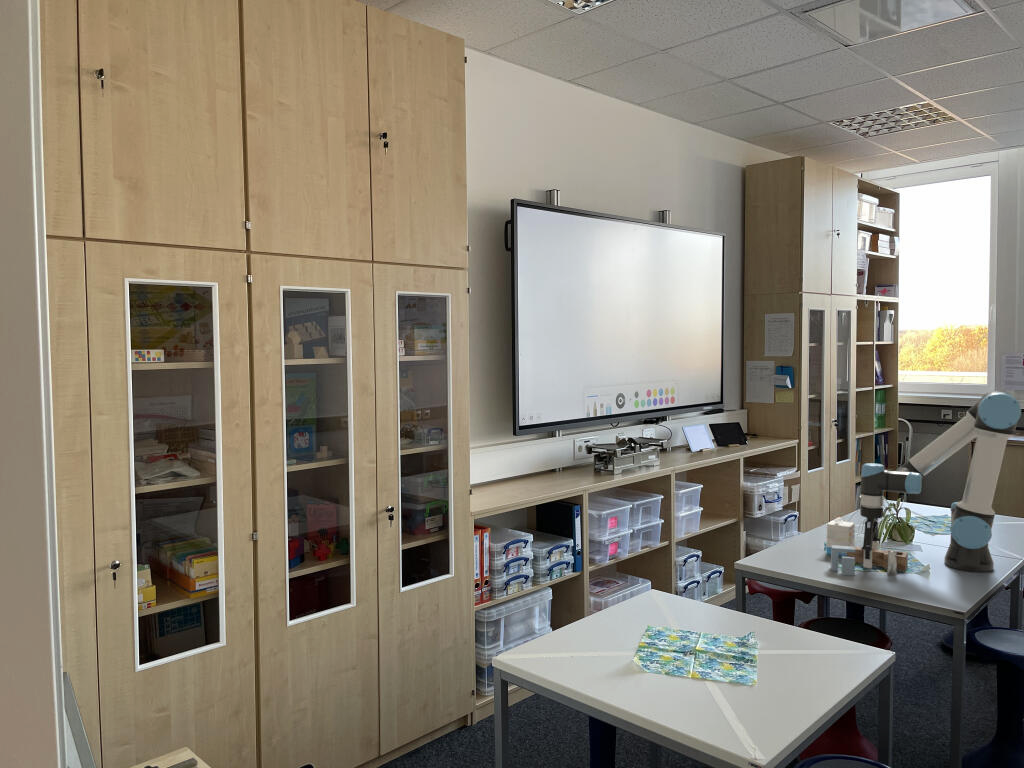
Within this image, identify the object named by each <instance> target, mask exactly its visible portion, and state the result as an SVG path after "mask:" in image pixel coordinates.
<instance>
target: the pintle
mask: <svg viewBox="0 0 1024 768" xmlns="http://www.w3.org/2000/svg"><path fill="white" fill-rule="evenodd" d="M888 550H889V551H888V568H887V574H888V575H889V576H897V571H898V570H897V552H896V551H897V550H893V549H892V550H893V551H892V550H891V549H888Z"/></svg>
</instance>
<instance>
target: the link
mask: <svg viewBox="0 0 1024 768" xmlns="http://www.w3.org/2000/svg"><path fill="white" fill-rule="evenodd" d="M851 547H854V546H851ZM862 547H863V546H855V547H854V548H855V552H847V557H854V558H855V562H858V563H859V564H863V560H864V550H862V549H861V548H862ZM889 550H890V549H885V550H883V549H878V550H877V549H872V566H877V567H883V569H888V551H889ZM892 551H894V550H893V549H892ZM895 551H896V552H897V570H896V571H904V572H906V570H907V568H908V562H909V561H908V559H909V557H908V556H909V555H908V554H909V553H908V551H901V550H900V551H899V550H895ZM858 563H857V564H858Z"/></svg>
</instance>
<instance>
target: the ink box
mask: <svg viewBox="0 0 1024 768" xmlns="http://www.w3.org/2000/svg"><path fill="white" fill-rule="evenodd" d="M855 524H856V523H855V522H851V521H844V520H843V518H842V517H840V516H838V517H836V518H834V519H832V520H831V521H829V522H828V523H826V554H827V555H831V545H837V546H854V547H856V546H855V545H856V543H855V542H856V541H855V539H856V538H855V531H856V529H855V528H856V525H855ZM838 556H841V557H842V556H847V552H842V551H838Z"/></svg>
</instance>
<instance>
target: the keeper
mask: <svg viewBox="0 0 1024 768" xmlns="http://www.w3.org/2000/svg"><path fill="white" fill-rule="evenodd" d="M838 551H842V552H855V548H854V547H851V546H837V545H831V554H830V558H831V559H830V569H831V571H832V572H839V555H838ZM841 575H843V576H844V575H845V576H855V575H856V563H855V558H854V557H847V556H841Z"/></svg>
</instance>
